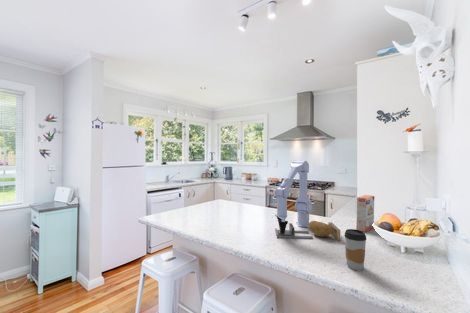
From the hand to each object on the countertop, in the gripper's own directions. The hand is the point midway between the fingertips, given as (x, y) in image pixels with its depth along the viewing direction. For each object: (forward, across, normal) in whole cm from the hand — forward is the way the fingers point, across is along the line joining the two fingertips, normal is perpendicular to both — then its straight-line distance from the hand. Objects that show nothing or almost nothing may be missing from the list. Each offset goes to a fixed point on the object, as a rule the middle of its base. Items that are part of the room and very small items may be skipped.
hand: (281, 230), depth 134 cm
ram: (+2, 0, +2) cm, 3 cm away
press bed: (+3, 0, +14) cm, 14 cm away
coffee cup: (+3, +36, +26) cm, 45 cm away
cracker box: (+3, -15, +54) cm, 57 cm away
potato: (+3, 0, +22) cm, 23 cm away
